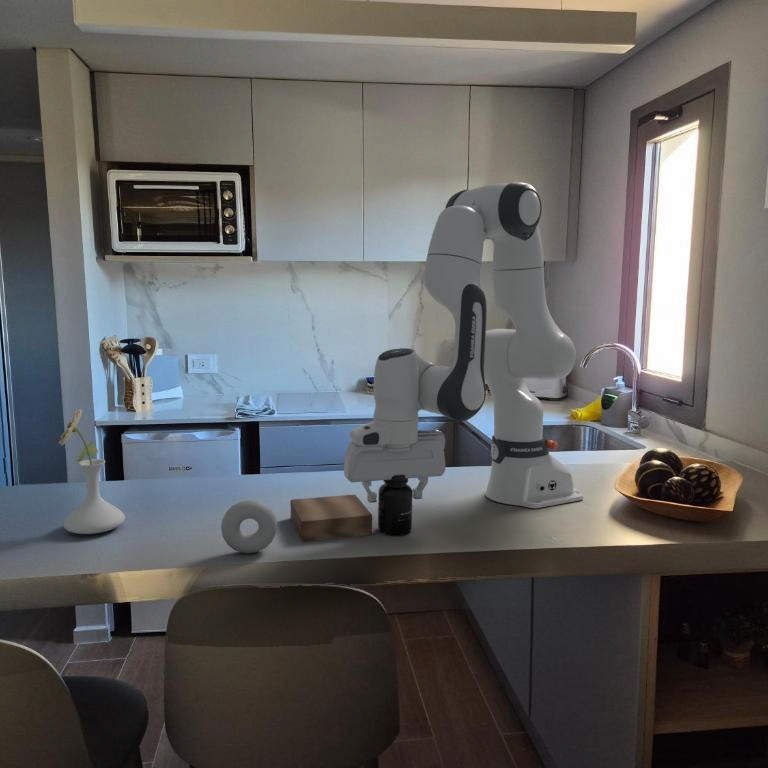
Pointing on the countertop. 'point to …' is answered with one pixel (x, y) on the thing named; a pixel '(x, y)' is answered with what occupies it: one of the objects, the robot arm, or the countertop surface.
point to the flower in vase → (90, 492)
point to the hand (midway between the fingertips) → (394, 500)
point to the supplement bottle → (395, 506)
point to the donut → (253, 541)
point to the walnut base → (330, 517)
